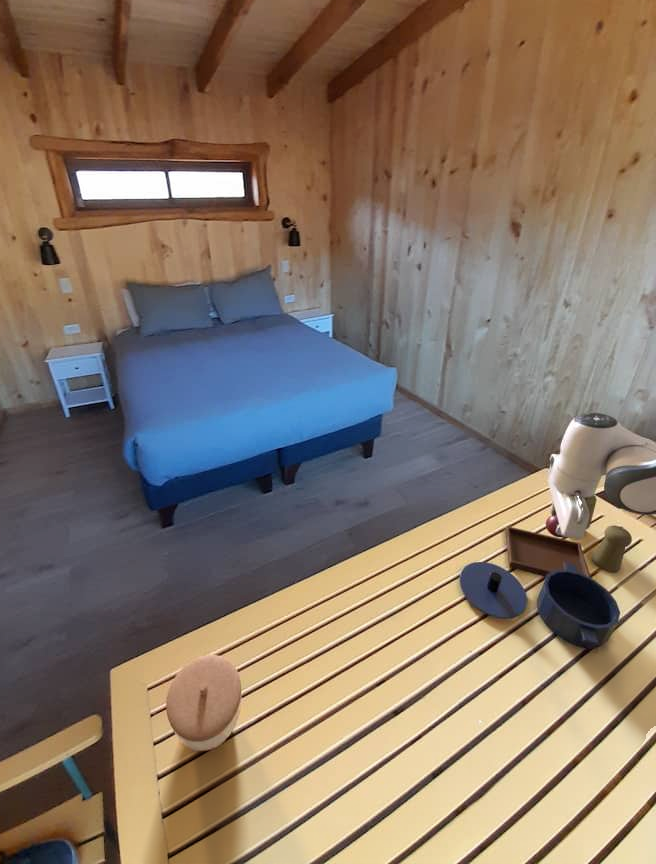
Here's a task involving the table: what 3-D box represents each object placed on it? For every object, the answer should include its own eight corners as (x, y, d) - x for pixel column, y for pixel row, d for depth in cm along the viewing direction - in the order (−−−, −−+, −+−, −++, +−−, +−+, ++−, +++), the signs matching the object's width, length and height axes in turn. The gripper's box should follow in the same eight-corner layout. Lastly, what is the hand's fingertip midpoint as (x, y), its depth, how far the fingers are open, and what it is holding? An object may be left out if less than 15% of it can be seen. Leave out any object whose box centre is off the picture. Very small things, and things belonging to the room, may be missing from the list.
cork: (594, 548, 104) (608, 517, 99) (622, 562, 100) (638, 530, 95) (588, 562, 100) (602, 531, 95) (617, 577, 97) (633, 545, 92)
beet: (565, 528, 99) (572, 509, 96) (570, 544, 95) (577, 525, 92) (541, 523, 101) (547, 505, 98) (545, 539, 97) (551, 520, 94)
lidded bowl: (180, 781, 65) (169, 748, 60) (169, 699, 76) (159, 666, 71) (254, 741, 70) (249, 708, 65) (234, 669, 80) (229, 636, 75)
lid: (522, 574, 98) (527, 560, 95) (530, 630, 86) (536, 615, 84) (459, 558, 102) (462, 544, 100) (458, 608, 90) (462, 593, 88)
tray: (577, 548, 104) (580, 543, 103) (589, 588, 94) (592, 582, 93) (505, 531, 110) (506, 526, 109) (509, 567, 100) (510, 561, 99)
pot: (595, 590, 94) (605, 569, 91) (621, 672, 78) (634, 651, 75) (531, 573, 98) (538, 553, 95) (543, 648, 82) (552, 627, 79)
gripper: (603, 513, 81) (582, 561, 87) (579, 455, 98) (563, 498, 104) (567, 506, 83) (549, 552, 89) (550, 450, 100) (536, 492, 106)
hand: (556, 523), depth 97 cm, fingers closed on beet, 5 cm apart
